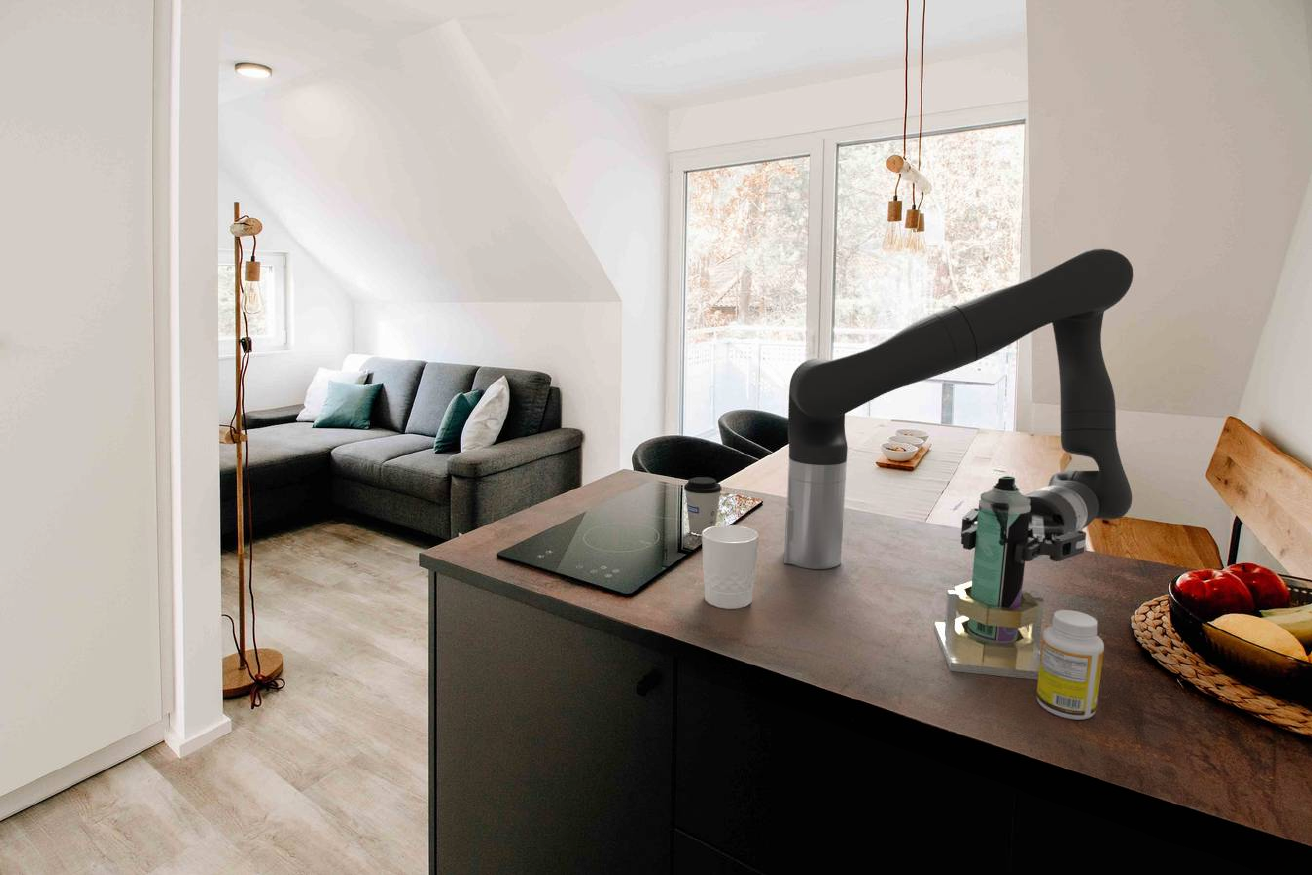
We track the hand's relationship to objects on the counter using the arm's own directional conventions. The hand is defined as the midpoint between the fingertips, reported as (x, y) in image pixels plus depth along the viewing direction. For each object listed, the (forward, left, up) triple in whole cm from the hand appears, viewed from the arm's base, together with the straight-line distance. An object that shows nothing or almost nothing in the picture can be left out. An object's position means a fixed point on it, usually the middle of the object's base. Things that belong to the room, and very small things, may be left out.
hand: (992, 547), depth 82 cm
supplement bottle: (+6, -9, -14) cm, 18 cm away
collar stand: (+1, +2, -14) cm, 14 cm away
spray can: (+1, +2, -12) cm, 12 cm away
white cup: (-32, +11, -14) cm, 36 cm away
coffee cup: (-40, +40, -14) cm, 58 cm away
